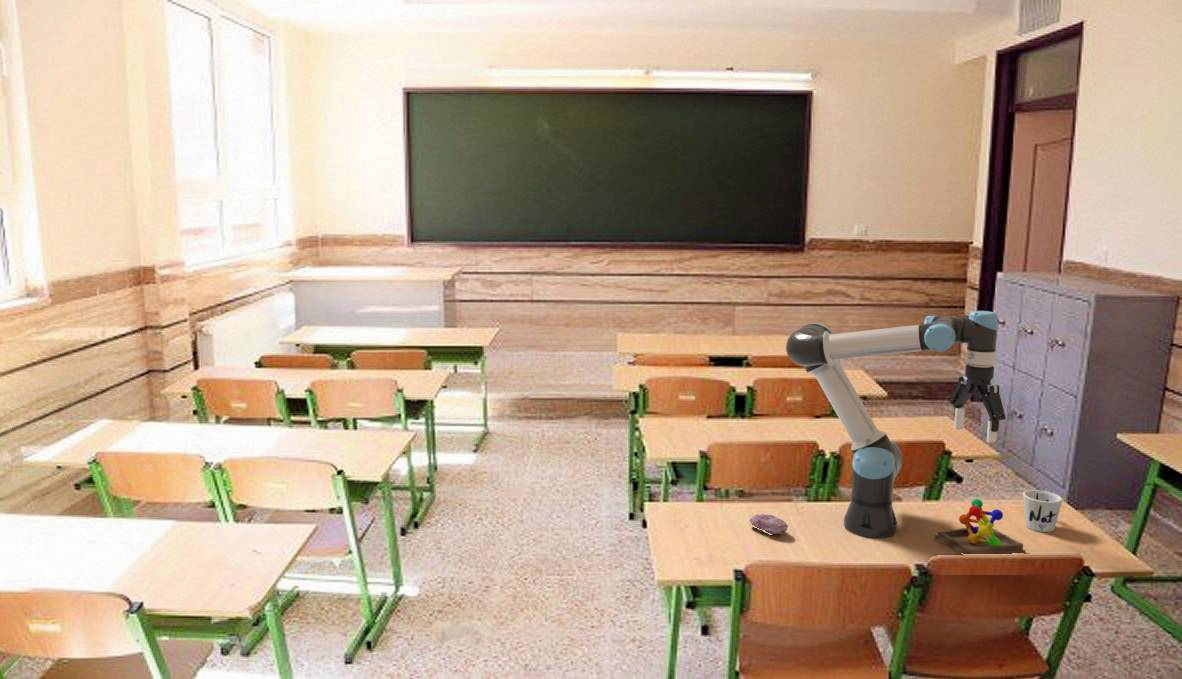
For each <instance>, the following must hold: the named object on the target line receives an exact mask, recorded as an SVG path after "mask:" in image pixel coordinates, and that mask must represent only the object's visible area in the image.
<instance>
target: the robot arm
mask: <svg viewBox="0 0 1182 679" xmlns="http://www.w3.org/2000/svg"><path fill="white" fill-rule="evenodd" d="M968 315H969V316H968V317H957V316H945V315H944V316H943V315H927V316H926V317H925V318H924V322H923V324H916V325H915V324H914V325H907V326H905V325H903V326H896V327H887V328H878V329H876V328H875V329H869V330H868V329H867V330H860V331H859V330H857V331H850V332H840V333H839V332H838V333H833V332H832V330H831V329H829V328H828V327H827V326H826V325H823V324H821V323H808V324H806V325H803V326H801V327H800V328H798V329H797V330H795V331H794V332H792V333H791V334H790V335H789V337H788V339H786V340H787V341H786V343H785V344H786V345H785V350H786V354H787V357H788V358H789V359H790V361H791V362H793V363H794V364H796V365H798V366H800V367H804V369H805V371H806V373H807V374H810V375H813V376H814V377H815V378H816V381H817V382H818V384H819V385H820V387H821V389H822V392H823V393H824V395H825V396H826V398H827V400H828V401H829V403H830V405H831V407H832V408H833V410H834V412H835V413H836V415H837V417H838V419H839V420H840V422H841V424H842V425H843V427H844V429H845V432H846V433H847V435H848V436H849V439H850V440H851V442H852V444H851V448H850V450H851V452H852V453H853V458H852V478H851V495H850V496H851V498H850V503H849V504H848V505H849V506H848V507H847V510H846V513H845V515H844V518H843V526H845V527H844V528H845V529H846V530H847V531H849V532H850V531H851V532H850V533H852V532H853V534H855V533H856V535H858V536H863V537H866V538H867V537H868V538H876V539H877V538H880V539H881V538H887V537H891V536H894V535H895V534H896V533H897V532H898V521H897V518H896V514H895V510H894V509H893V495H894V484H895V479H896V477H897V475H898V474H899V473H900V471H901V468H902V465H903V464H902V463H903V457H902V456H903V455H902V452H901V450H900V448H899V447H898V445H897V444H896V443H894V442H893V440H892V441H891V440H890V437H889V436H888V434H887V433H886V432H885V431H883V430H880V429H878V427H877V425H876V424H875V422H874V420H873V419H872V417H871V415H870V413H869V412H868V410H867V408H866V406H865V405H864V402H863V401H862V399H861V397H860V396H859V394H858V392H857V391H856V389H855V388H854V386H853V384H852V382H851V380H850V379H849V377H848V376H847V374H846V372H845V370H844V368H843V367H842V365H841V363H840V360H841V359H843V360H844V359H852V358H853V359H854V358H863V357H873V356H885V355H894V354H902V353H903V354H905V353H912V352H914V353H915V352H925V351H927V352H928V351H934V352H937V353H939V352H945V351H947V350H948V349H950V348H952V346H953V345H954V344H956V343H957V344H966V346H967V347H966V358H965V362H966V364H965V370H964V371H965V372H964V376H959V377H958V381H957V385H956V387H955V389H954V391H953V393H952V395H951V398H950V399H949V404H950V405H953V408H954V411H953V413H954V414H953V418H954V421H953V423H954V424H953V430H956V431H957V430H958V431H959V430H964V424H965V412H966V411H965V410H966V409H965V404H967V402H968V401H969V400H970V399H971V397H972V396H975V397H977V398H979V399H980V400H981V401H982V403H983V405H984V408H985V410H986V412H987V415H988V416H989V418H988V420H987V431H986V441H985V442H986V443H988V444H990V443H997V439H998V438H997V436H998V432H999V425H1000V422H1001V421H1004V420H1006V419H1007V418H1006V414H1005V411H1004V406H1003V402H1002V398H1001V394H1000V386H999V385H998V384H997V385H993V384H992V383H991V380H993V379H994V376H995V367H994V365H995V363H996V351H997V350H996V348H997V339H998V338H997V337H998V336H997V335H998V328H999V327H998V324H999V323H998V320H999V319H998V318H999V316H998V315H997V313H996V312H993V311H988V310H972V311H970V312H969V314H968Z"/></svg>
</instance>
